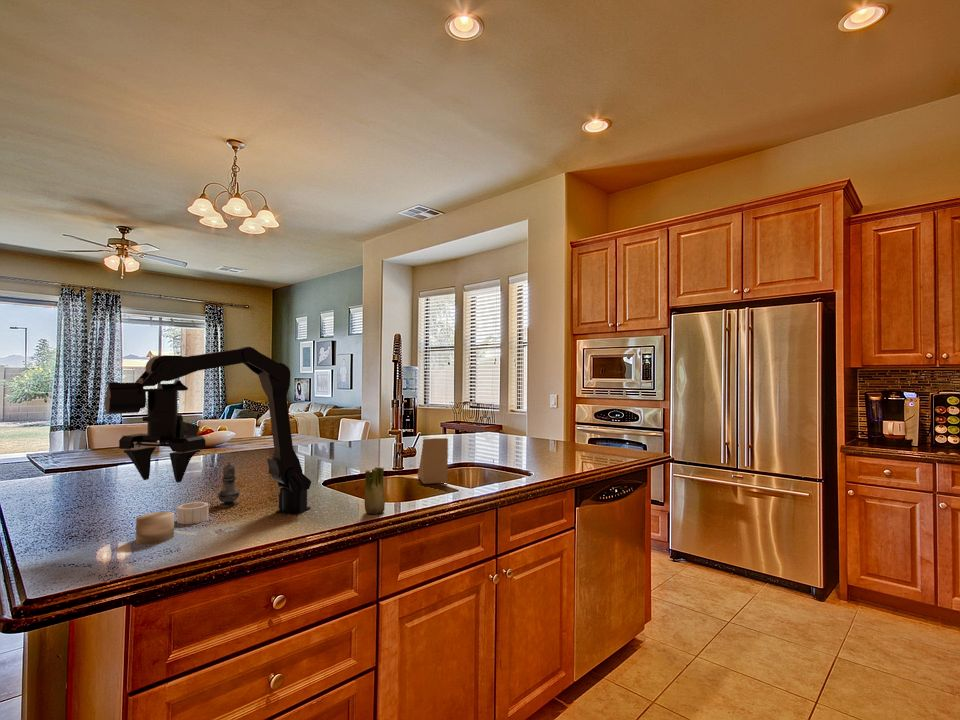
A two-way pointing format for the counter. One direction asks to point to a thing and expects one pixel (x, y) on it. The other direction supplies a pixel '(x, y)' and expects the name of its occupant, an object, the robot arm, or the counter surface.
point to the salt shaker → (228, 487)
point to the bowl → (192, 512)
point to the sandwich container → (434, 461)
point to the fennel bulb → (374, 491)
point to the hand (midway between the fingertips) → (162, 480)
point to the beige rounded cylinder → (154, 527)
